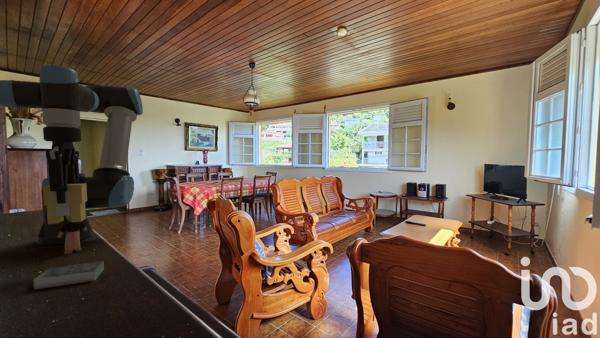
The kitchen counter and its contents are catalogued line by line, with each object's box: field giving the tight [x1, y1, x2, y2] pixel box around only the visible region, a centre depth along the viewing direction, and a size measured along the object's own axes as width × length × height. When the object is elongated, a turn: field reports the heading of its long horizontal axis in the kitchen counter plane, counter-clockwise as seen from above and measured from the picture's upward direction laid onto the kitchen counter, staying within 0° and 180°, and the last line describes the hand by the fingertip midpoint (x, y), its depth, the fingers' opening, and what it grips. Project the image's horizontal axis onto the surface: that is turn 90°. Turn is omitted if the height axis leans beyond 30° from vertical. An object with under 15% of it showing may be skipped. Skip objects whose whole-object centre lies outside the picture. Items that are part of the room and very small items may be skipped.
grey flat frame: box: [33, 260, 105, 290], centre depth 64 cm, size 7×11×2 cm, turn 112°
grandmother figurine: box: [57, 215, 87, 255], centre depth 83 cm, size 8×4×13 cm, turn 168°
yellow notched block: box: [43, 183, 87, 224], centre depth 72 cm, size 4×8×10 cm, turn 112°
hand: (67, 213), depth 72 cm, fingers closed on yellow notched block, 4 cm apart
